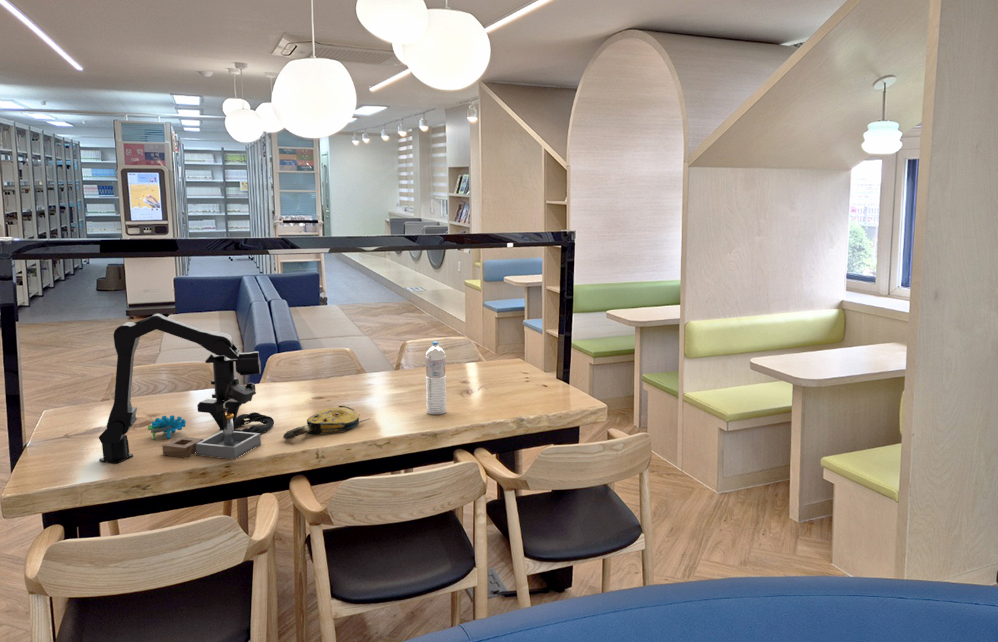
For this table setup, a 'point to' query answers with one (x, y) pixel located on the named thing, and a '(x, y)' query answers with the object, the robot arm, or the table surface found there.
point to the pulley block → (328, 422)
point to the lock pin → (228, 430)
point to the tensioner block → (181, 447)
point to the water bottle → (435, 380)
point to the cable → (253, 418)
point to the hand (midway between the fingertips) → (227, 427)
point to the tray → (218, 449)
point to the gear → (166, 425)
